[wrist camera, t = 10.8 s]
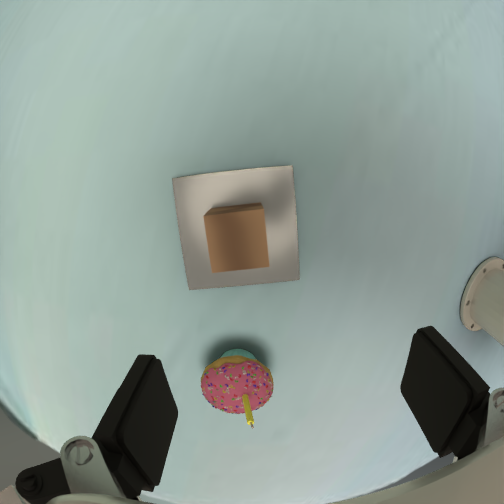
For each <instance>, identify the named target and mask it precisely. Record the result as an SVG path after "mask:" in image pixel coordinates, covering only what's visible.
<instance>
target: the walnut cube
mask: <svg viewBox="0 0 504 504" xmlns="http://www.w3.org/2000/svg"><path fill="white" fill-rule="evenodd" d="M203 218H204V225H205V232H206V238H207V245H208V252H209V258H210V264H211V270H212V273H218V272H228V271H237V270H246V269H255V268H264V267H270V265H269V255H268V245H267V234H266V224H265V215H264V208H263V206H262V204H261V202H260V203H251V204H242V205H233V206H225V207H217V208H210V210H209V211H208V212H207V213H206V214H205V215H204V216H203Z"/></svg>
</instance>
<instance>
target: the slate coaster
mask: <svg viewBox="0 0 504 504" xmlns="http://www.w3.org/2000/svg"><path fill="white" fill-rule="evenodd" d="M172 181H173V190H174V198H175V205H176V213H177V220H178V227H179V233H180V240H181V246H182V252H183V259H184V264H185V270H186V276H187V281H188V287H189V290H196V289H208V288H220V287H232V286H243V285H254V284H264V283H274V282H284V281H293V280H300V276H299V253H298V234H297V218H296V203H295V189H294V177H293V165H292V166H277V167H264V168H253V169H242V170H233V171H224V172H215V173H207V174H199V175H192V176H185V177H178V178H172ZM260 202H261V204H262V206H263V208H264V215H265V224H266V234H267V245H268V255H269V265H270V267H264V268H255V269H246V270H237V271H228V272H218V273H212V270H211V264H210V258H209V252H208V245H207V238H206V232H205V225H204V218H203V216H204V215H205V214H206V213H207V212H208V211H209V210H210V208H217V207H225V206H233V205H242V204H251V203H260Z"/></svg>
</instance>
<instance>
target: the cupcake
mask: <svg viewBox="0 0 504 504" xmlns="http://www.w3.org/2000/svg"><path fill="white" fill-rule="evenodd" d="M201 388H202V392H203V395H204V396H205V398H206V400H208V402H209V403H211V405H212V406H213V407H215V408H218V409H220V410H222V411H224V412H226V413H235V414H239V413H245V414H246V419H247V423H248V425H251V427H252V428H254V427H253V424H254V420H253V416H252V411H253V410H257V409H259V407H263V405H264V404H265V403H266V402H267V401H268V400H269V398H270V397H272V396H271V395H272V393H273V378H272V375H271V372H270V370H269V369H268V368H267V367H266V366H264V365H263V364H261V363H260V362H259V361H258V360H256V359H255V357H254V356H253V355H252V354H251V353H250V352H248V351H246V350H243V349H231V350H228V351H226V352H225V353H224V354H223V355H222V356H221V357H220V358H219V359H218V360H216V361H214V362H213V363H211V364H210V365H208V366H207V367H206V368H205V370H204V372H203V375H202V377H201Z"/></svg>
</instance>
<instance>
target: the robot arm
mask: <svg viewBox="0 0 504 504" xmlns="http://www.w3.org/2000/svg"><path fill="white" fill-rule="evenodd" d="M460 316H461V321H462V323H463V325H464V326H465V327H466V328H467V329H469V330H471V331H478V330H480V329H484V330H485V331H486V332H487V333H489V334H490V335H491V336H492V337H493V338H494V339H496V340H497V341H498V342H499V343H500V344H501V345H503V346H504V260H502V259H500V258H498V257H492V258H489V259H487V260H485V261H484V262H483V263H482V264H481V265H480V266H479V267H478V268H477V269H476V270H475V272H474V273H473V275H472V276H471V278H470V280H469V282H468V284H467V286H466V288H465V291H464V294H463V297H462V301H461V308H460ZM489 389H490V387H489V386H488V385H487V384H486V382H485V381H484V380H483V379H482V378H481V377H480V376H479V374H478V373H477V372H476V371H475V370H474V369H473V368H472V367H471V366H470V365H469V363H468V362H467V361H466V360H465V359H464V358H463V357H462V356H461V355H460V354H459V353H458V352H457V351H456V350H455V349H454V347H453V346H452V345H451V344H450V343H449V342H448V341H447V340H446V339H445V338H444V337H443V336H442V335H441V334H440V333H439V332H438V331H437V330H436V329H435V328H434V327H433V326H428V327H424V328H420V329H418V330H417V332H416V333H415V334H414V335H413V339H412V343H411V348H410V352H409V356H408V360H407V364H406V368H405V372H404V375H403V379H402V382H401V393H402V395H403V397H404V399H405V400H406V402H407V404H408V406H409V407H410V409H411V411H412V413H413V414H414V416H415V418H416V420H417V422H418V424H419V425H420V427H421V429H422V431H423V433H424V435H425V436H426V438H427V440H428V442H429V444H430V446H431V448H432V450H433V451H434V452H436V453H438V455H439V457H440V458H441V457H443V456H445V455H448V454H450V453H451V452H453V453H454V455H455V456H454V460H453V463H452V464H450V465H447V466H445V467H443V468H441V469H439V470H436V471H434V472H432V473H429V474H427V475H425V476H422V477H420V478H417V479H415V480H412V481H409V482H407V483H404V484H401V485H398V486H395V487H392V488H389V489H386V490H382V491H379V492H375V493H372V494H368V495H365V496H361V497H357V498H352V499H348V500H343V501H339V502H333V503H328V504H504V388H498V389H495V390H494V391H493V392H492V393H491V394H490V393H489V392H488V391H489ZM177 418H178V409H177V406H176V403H175V401H174V398H173V395H172V393H171V390H170V387H169V384H168V381H167V378H166V375H165V372H164V369H163V366H162V363H161V361H160V359H156V357H155V356H154V355H138V356H137V358H136V360H135V362H134V363H133V365H132V367H131V368H130V370H129V372H128V374H127V376H126V377H125V379H124V381H123V383H122V384H121V386H120V388H119V389H118V390H117V392H116V394H115V395H114V397H113V399H112V401H111V403H110V404H109V406H108V408H107V410H106V412H105V414H104V415H103V417H102V419H101V421H100V423H99V425H98V427H97V429H96V431H95V432H94V434H93V436H92V438H89V437H87V436H76V437H73V438H71V439H69V440H68V441H66V442H65V443H64V445H63V446H62V448H61V451H60V458H58V459H55V460H52V461H49V462H46V463H43V464H41V465H37V466H34V467H31V468H28V469H25V470H23V471H22V472H21V473H19V475H18V477H17V478H16V487H13V486H12V485H10V486H9V487H7V488H6V489H4V490H3V491H1V492H0V504H153V503H148V502H143V501H142V500H141V499H140V497H139V495H140V494H141V490H145V491H150V492H153V490H154V487H155V486H158V485H159V483H160V480H161V476H162V473H163V469H164V465H165V461H166V458H167V454H168V450H169V447H170V443H171V439H172V436H173V432H174V429H175V425H176V421H177Z"/></svg>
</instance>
